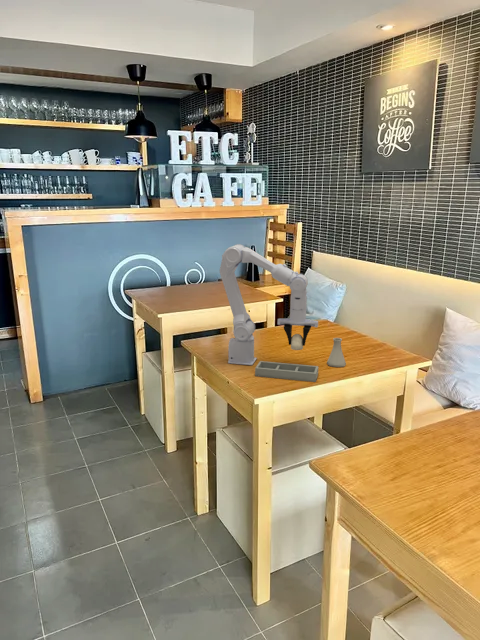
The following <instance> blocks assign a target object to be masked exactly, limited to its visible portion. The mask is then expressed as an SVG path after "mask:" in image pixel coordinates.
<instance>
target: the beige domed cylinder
mask: <svg viewBox="0 0 480 640" xmlns="http://www.w3.org/2000/svg"><path fill="white" fill-rule="evenodd" d="M290 349H291V350H293V351H301V350H303V349H304V346H303V335H302V334H300V333H295V334H292V338H291V345H290Z"/></svg>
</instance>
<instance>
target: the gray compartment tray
mask: <svg viewBox="0 0 480 640" xmlns="http://www.w3.org/2000/svg"><path fill="white" fill-rule="evenodd" d="M254 376H255V377H260V378H271V379H280V380H290V381H291V380H292V381H301V382H311V383H312V382H313V383H316V382H317V379H318V376H319V366H318V365H311V364H310V365H307V364H300V363H299V364H298V363H286V362H285V363H284V362H274V361H263V360H259V362H258V364H257V365H256V366H255V368H254Z"/></svg>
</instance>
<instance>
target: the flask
mask: <svg viewBox="0 0 480 640" xmlns="http://www.w3.org/2000/svg"><path fill="white" fill-rule="evenodd" d="M332 340H333V345H332V349H331V352H330V354H329V357H328V359H327V362H326V364H327V366H329V367H334V368H343V367H345V366H346V365H347V362H346V359H345V357H344V353H343V350H342V344H341V343H342V341H343V339H342V338H341V337H333V338H332Z"/></svg>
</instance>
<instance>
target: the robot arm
mask: <svg viewBox="0 0 480 640" xmlns="http://www.w3.org/2000/svg"><path fill="white" fill-rule="evenodd" d="M220 262H221V263H220V266H219V274H220V278H221V281H222V285H223V287H224V291H225V294H226V297H227V300H228V303H229V306H230V310H231V313H232V317H233V318H232V319H233V320H232V325H233V336H234V337H231V338H230V339H229V341H228V346H227V347H228V349H227V351H228V361H227V364H233V365H244V366H245V365H246V366H253V365H254V364H255V362H256V360H257V359H258V358H257V357H255V337H254V335H253V334H254V333H255V331H256V324H255V322H254V321H253V320H252V319H251V317H250V314H249V313H248V312H247V309H246V306H245V303H244V299H243V296H242V293H241V290H240V285H239V283H238V280H237V276H236V274H235V271H236V270H237V268H238V267H239V265H240V264H241V263H242V264H247V263H248V264H249V263H252V264H254V265H256V266H257V267H259V268H261V269H263V270H264V271H265V270H266V271H267V272H270V274H271V277H272V278H273V279H274V280H276V281H278V282H280V283H281V284H283V285H285V286H286V287H289V289H290V291H291V293H290V303H289V305H290V306H289V307H290V309H289V317H287V318H282V317H281V318H280V317H279V318H277V325H278V326H281V325H283V330H284V332H285V334H286V337H287V341H288V345H289V346H291V338H292V336H293V334H292V333H293V331H292V330H293V329H292V328H293V326H298V327H299V326H300V327H303V328H302V333H303V334H302V337H303V347H305V345H306V341H307V338H308V334H309V332H310V331H311V328H312V327H314V328H318V327H319V321H318V320H313V319H307V299H308V297H307V293H308V291H307V287H308V285H309V281H308V278H307V276H305V275H304V274H303V273H299V272H298V271H294V270H293V269H291V268H289V267H287V266H288V265H287V264H285V263H283V264H282V263H278V264H275V263H274V262H272V261H270V260H268V259H267V258H266V257H264V256H262V255H261V254H259V253H258V252H256V251H254V250H253V249H251V248H250V247H247V246H245V245H243V244H240V243H236V244H234V245H233V246H229V247H228V248H226V249H225V251H224V252H223V253H222V255H221V261H220Z"/></svg>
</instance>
